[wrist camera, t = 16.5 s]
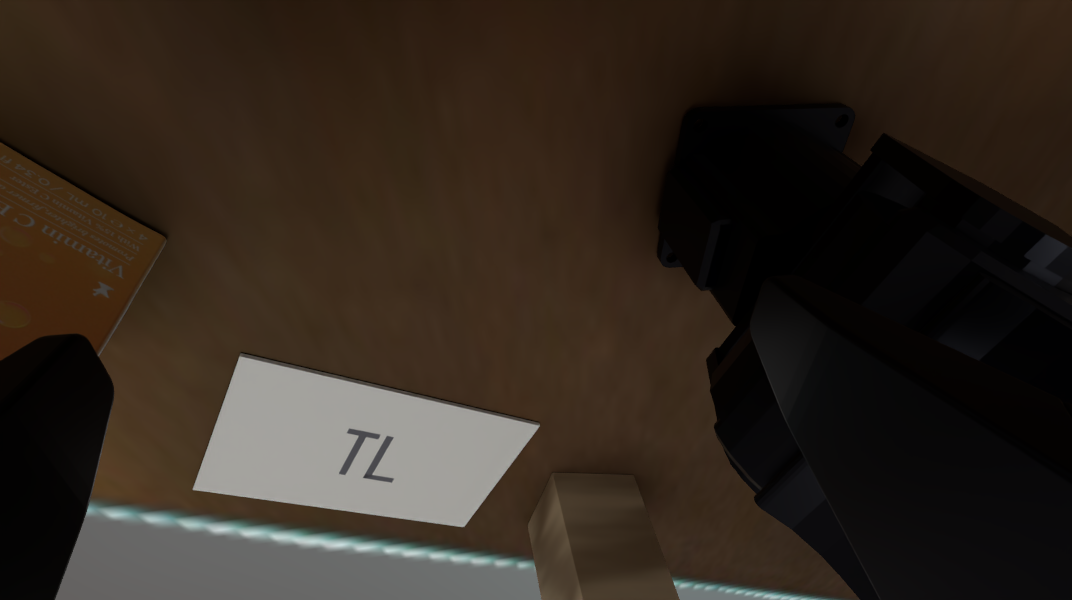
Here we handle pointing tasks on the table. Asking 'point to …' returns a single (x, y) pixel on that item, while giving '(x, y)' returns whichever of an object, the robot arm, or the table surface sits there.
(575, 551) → the oak block
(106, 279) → the small box
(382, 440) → the tile
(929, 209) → the robot arm
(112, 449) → the table surface
